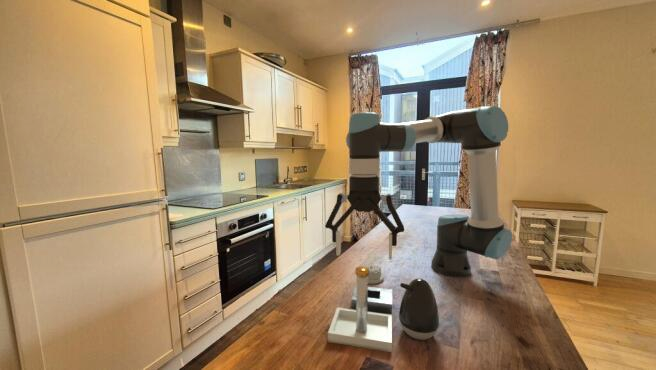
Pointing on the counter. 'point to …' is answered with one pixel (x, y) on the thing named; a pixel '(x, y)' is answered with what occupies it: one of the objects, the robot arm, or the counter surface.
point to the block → (376, 300)
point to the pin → (362, 299)
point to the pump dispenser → (419, 310)
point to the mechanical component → (374, 274)
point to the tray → (372, 339)
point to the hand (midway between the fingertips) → (363, 255)
